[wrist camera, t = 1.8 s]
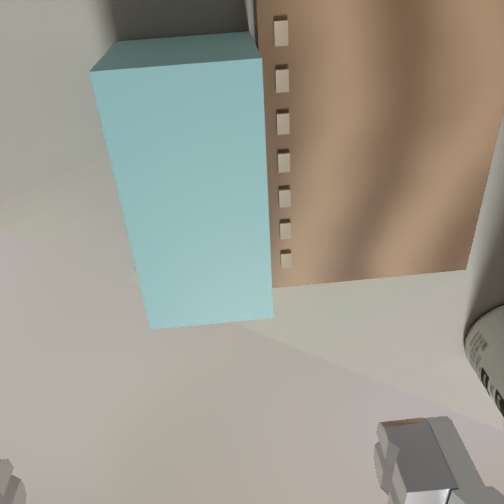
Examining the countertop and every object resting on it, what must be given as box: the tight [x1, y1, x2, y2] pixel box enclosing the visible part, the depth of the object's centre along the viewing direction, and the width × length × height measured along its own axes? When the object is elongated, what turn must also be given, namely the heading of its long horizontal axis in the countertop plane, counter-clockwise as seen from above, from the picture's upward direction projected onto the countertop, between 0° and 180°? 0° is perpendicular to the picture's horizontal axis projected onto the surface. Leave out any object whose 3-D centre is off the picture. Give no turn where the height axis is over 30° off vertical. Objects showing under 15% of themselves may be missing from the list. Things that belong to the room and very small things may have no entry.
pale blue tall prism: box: [89, 31, 273, 330], centre depth 22 cm, size 6×12×6 cm, turn 3°
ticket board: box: [254, 0, 504, 288], centre depth 24 cm, size 12×16×1 cm
